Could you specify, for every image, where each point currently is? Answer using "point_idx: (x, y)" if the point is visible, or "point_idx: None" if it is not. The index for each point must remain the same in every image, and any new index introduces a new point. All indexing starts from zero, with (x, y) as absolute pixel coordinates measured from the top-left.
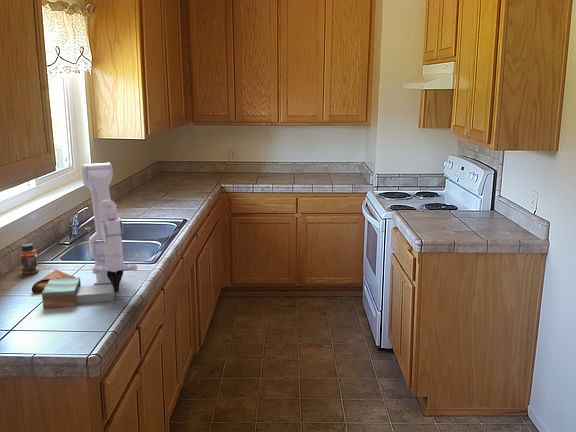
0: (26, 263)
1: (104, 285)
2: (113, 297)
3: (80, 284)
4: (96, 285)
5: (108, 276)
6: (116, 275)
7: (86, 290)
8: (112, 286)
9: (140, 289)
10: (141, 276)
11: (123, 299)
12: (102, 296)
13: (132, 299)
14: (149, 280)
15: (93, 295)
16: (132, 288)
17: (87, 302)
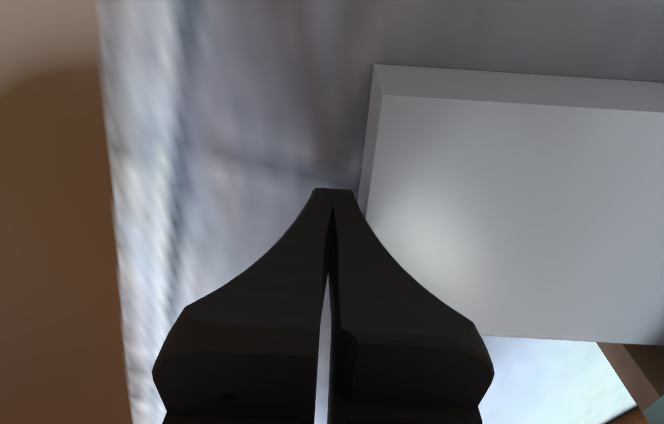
0: None
1: None
2: (367, 133)
3: (624, 369)
4: (510, 328)
5: (468, 333)
6: (291, 329)
7: (649, 246)
8: None
9: (159, 266)
10: None
11: (266, 82)
12: (503, 89)
13: (167, 53)
14: (143, 370)
15: (623, 105)
16: None
17: (642, 84)
